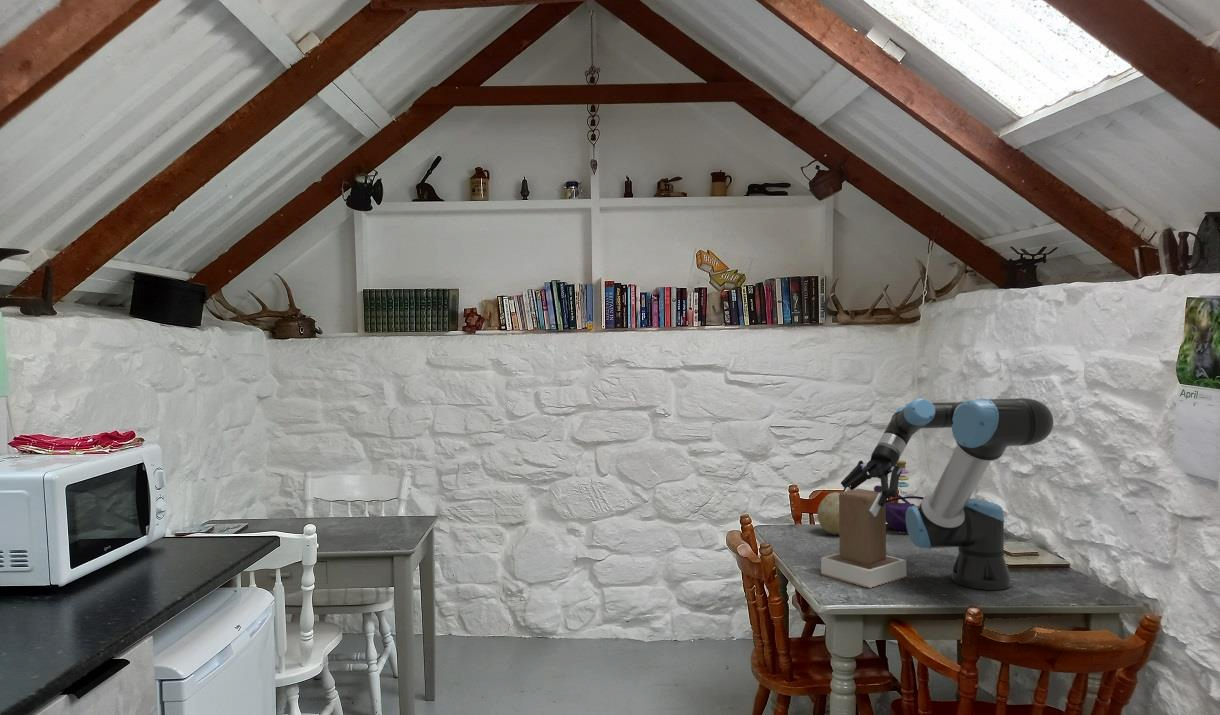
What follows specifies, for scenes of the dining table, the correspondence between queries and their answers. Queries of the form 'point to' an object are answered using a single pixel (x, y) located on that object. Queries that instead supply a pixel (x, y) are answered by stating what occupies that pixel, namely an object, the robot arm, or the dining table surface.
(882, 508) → the wooden block
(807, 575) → the dining table surface
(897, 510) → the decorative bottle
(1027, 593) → the dining table surface
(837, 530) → the speckled cream ball
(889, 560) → the shallow white tray
